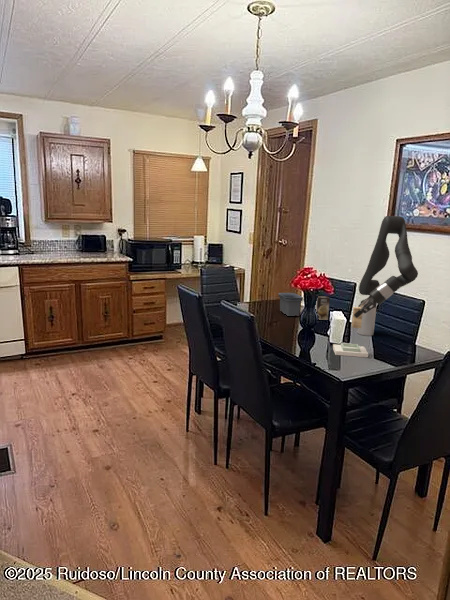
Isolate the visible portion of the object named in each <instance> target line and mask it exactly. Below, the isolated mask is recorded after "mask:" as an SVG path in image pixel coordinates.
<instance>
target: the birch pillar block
mask: <svg viewBox="0 0 450 600" xmlns="http://www.w3.org/2000/svg"><path fill="white" fill-rule="evenodd" d="M352 308H353V309H352V320H351V328H353V329H358V328H361V324H362V314H363V313H362V314H361V315H360V316H359V317H357V318H356V317H355V316H354V314H355V313H356V312H358V311H359V310H360V309H361V308H362V307H358V306H353V307H352Z"/></svg>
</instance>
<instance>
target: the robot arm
mask: <svg viewBox="0 0 450 600" xmlns="http://www.w3.org/2000/svg"><path fill="white" fill-rule="evenodd" d="M407 232H408V231H407V224H406V221H405V218H404V217H403V216H399V215H397V216H396V215H385V216H384V217H383V219H382V221H381V224H380V228H379V232H378V235H377V239H376V243H375V245H374V247H373V250H372V253H371V255H370V258H369V262H368V263H367V268H366V269H365V272H364V274H363V276H362V278H361V280H360V283H359V286H358V292H359V294H360V295H363V296H368V297H367V298H364V299H362V300H360V303H359V304H358V306H357V307H362V308H361V309H360V310H359V311H358V312H356V313H355V314H354V316H355V317H356V318H357V317H359V316H360V315H361V314H362V313H363V314H362V324H361V328H357V334H358V335H360V336H369V337H370V336H374V332H375V323H376V315H377V306H378V305H381V304H383V303H384V302H385V301H387V300H388V299H390V297H392V295H393V294H394V293H396V292H397V291H398V290H399V289H400V288H402V287H404V286H406V285H408V284H410V283H413V282H414V281H415V280H416V278H418V275H419V271H418V270H417V268H416V267H415V264H414V263H413V255H412V253H411V249H410V247H409V241H408V239H409V238H408V233H407ZM389 234H390V235H391V234H392V235H393V234H394V235H395V234H396V235H397V236H398V240H397V242H396V244H395V247H394V254H395V257H396V260H397V268H398V271H399V273H400V275H398V276H395V275H392V276H390V277H388V278H387V279H386V280H385V281H384V282H383V283H381V284H380V282H379V280H378V279H373V278H374V277H375V276H376V275H377V274H378V273H379V272H381V271H382V270H383V269H384V268H385V266H386V265H387V263H388V260H389V258H390V249H389V247H388V243H387V237H388V235H389Z"/></svg>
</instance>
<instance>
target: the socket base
mask: <svg viewBox="0 0 450 600" xmlns="http://www.w3.org/2000/svg"><path fill="white" fill-rule="evenodd" d="M332 349H333V352H334V355H335V356H345V357H347V356H348V357H360V358H369V351H367V349H366V347H365V346H362V345H361V346H360V345H359V344H358V343H344V342H341V343H340V344H336V343H335V344H332Z"/></svg>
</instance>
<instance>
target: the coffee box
mask: <svg viewBox="0 0 450 600" xmlns="http://www.w3.org/2000/svg"><path fill="white" fill-rule="evenodd" d="M317 296H318V298H317V301H316V305H315V309H316V312H317V315H318V319H319V320H329V311H330V300H331V297H329V296H327V295H317Z"/></svg>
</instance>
